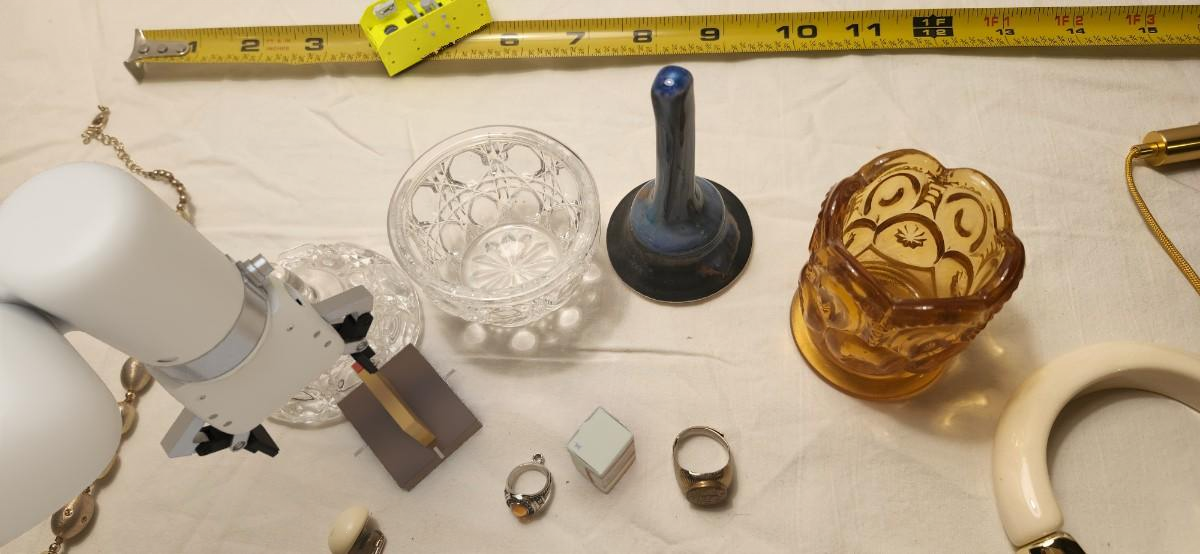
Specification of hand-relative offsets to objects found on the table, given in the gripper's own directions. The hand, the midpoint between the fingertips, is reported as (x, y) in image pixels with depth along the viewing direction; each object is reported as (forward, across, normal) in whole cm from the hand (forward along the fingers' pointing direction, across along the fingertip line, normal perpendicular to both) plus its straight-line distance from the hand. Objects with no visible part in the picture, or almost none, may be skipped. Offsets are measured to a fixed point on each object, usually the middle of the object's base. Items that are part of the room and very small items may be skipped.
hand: (317, 400), depth 60 cm
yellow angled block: (+18, -4, -2) cm, 18 cm away
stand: (+20, -4, -2) cm, 21 cm away
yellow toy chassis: (+20, -38, -43) cm, 61 cm away
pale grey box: (+20, -16, +16) cm, 30 cm away
